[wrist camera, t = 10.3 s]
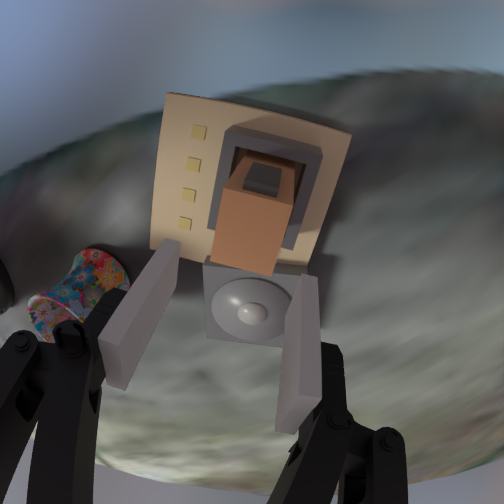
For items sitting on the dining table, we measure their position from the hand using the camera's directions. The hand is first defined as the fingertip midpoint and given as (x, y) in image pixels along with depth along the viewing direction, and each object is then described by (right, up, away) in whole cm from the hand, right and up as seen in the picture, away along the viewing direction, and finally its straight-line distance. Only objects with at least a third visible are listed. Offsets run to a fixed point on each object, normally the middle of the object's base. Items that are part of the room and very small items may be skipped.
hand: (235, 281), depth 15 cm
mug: (-19, -1, +23) cm, 30 cm away
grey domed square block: (+1, -3, +20) cm, 21 cm away
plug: (+2, +7, +12) cm, 15 cm away
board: (0, +7, +15) cm, 16 cm away
